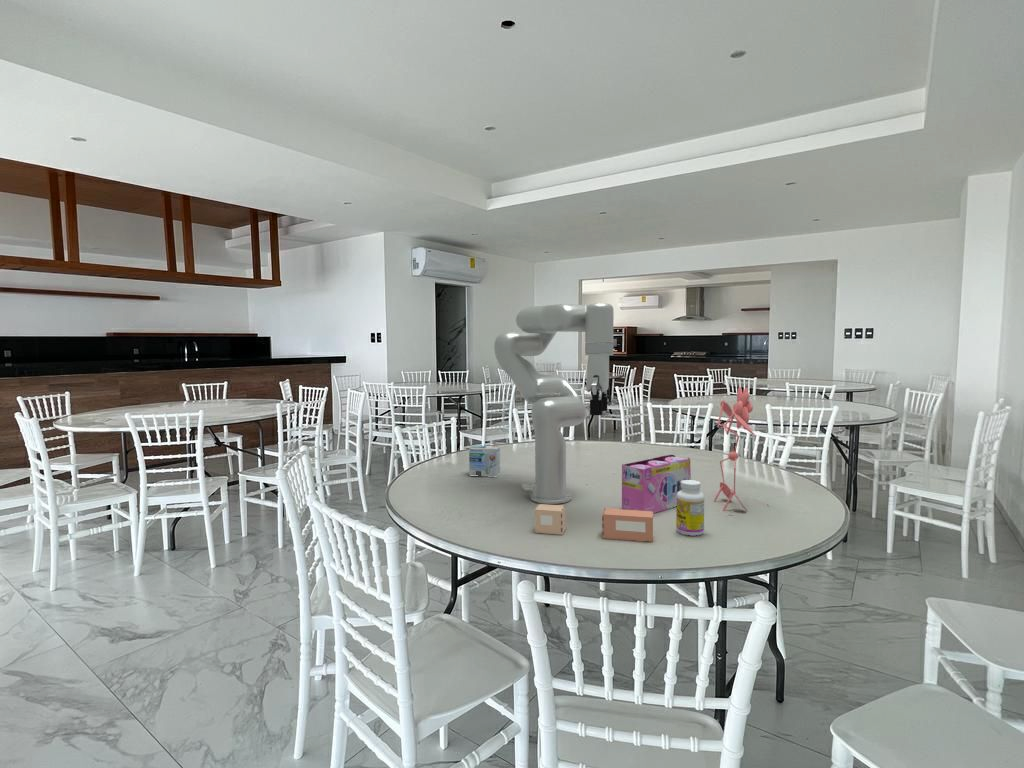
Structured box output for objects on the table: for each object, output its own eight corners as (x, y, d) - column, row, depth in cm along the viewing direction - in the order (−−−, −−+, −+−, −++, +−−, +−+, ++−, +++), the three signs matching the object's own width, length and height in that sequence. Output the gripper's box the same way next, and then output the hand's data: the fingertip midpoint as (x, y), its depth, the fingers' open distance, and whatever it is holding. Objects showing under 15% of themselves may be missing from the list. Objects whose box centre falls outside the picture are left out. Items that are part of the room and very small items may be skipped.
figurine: (729, 519, 146) (734, 389, 143) (703, 494, 171) (707, 384, 169) (788, 521, 144) (794, 390, 142) (753, 495, 170) (758, 384, 168)
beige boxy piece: (535, 532, 137) (534, 509, 136) (539, 526, 142) (539, 503, 141) (562, 534, 135) (562, 511, 134) (565, 528, 140) (565, 505, 139)
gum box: (672, 496, 169) (672, 453, 168) (694, 502, 163) (694, 457, 162) (620, 510, 155) (620, 464, 154) (642, 517, 149) (642, 468, 148)
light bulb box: (468, 477, 198) (468, 448, 198) (473, 473, 205) (472, 444, 204) (497, 478, 196) (497, 448, 196) (500, 473, 203) (500, 445, 202)
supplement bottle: (672, 528, 139) (672, 479, 138) (697, 527, 140) (697, 478, 139) (682, 537, 132) (683, 485, 132) (708, 536, 133) (709, 484, 132)
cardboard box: (602, 538, 132) (602, 513, 132) (604, 531, 137) (604, 507, 137) (652, 542, 129) (652, 517, 129) (652, 535, 134) (653, 511, 134)
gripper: (590, 349, 155) (590, 408, 156) (579, 350, 138) (579, 416, 140) (616, 349, 153) (616, 409, 154) (608, 350, 136) (608, 417, 137)
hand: (598, 412), depth 147 cm, fingers open, 9 cm apart
